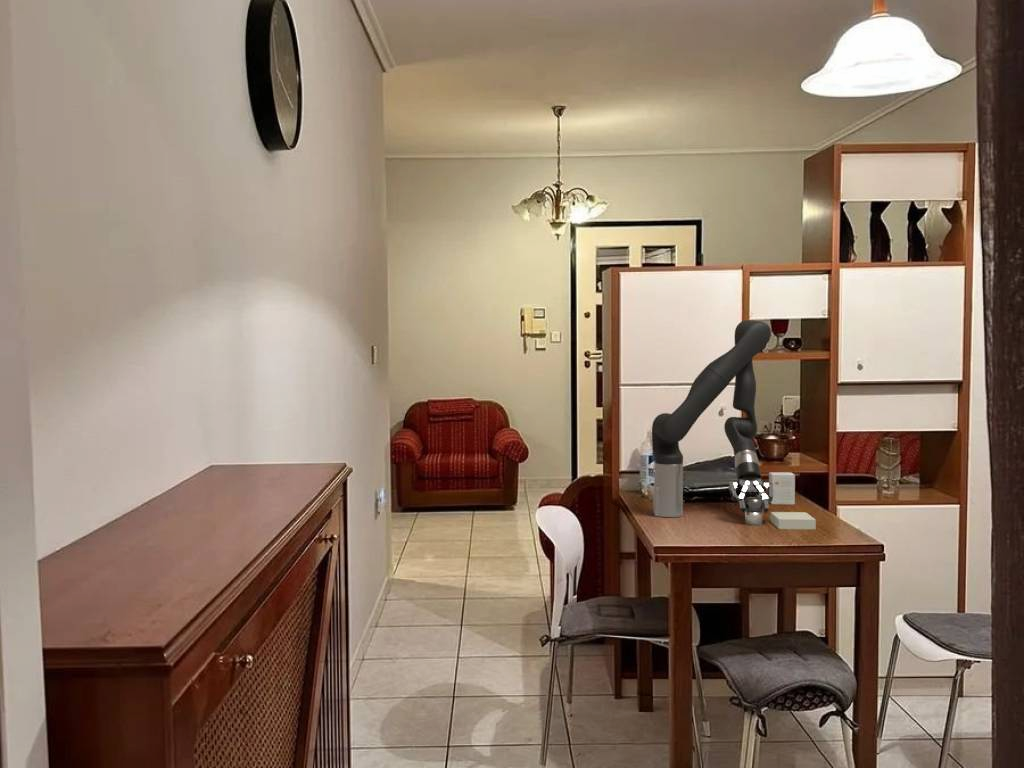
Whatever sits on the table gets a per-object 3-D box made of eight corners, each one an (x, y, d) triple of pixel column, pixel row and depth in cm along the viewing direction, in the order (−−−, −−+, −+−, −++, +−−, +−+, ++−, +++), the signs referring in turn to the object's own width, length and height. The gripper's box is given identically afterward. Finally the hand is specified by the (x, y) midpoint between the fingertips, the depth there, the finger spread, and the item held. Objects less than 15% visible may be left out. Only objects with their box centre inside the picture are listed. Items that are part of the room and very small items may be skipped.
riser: (778, 529, 276) (779, 519, 276) (770, 521, 287) (770, 512, 286) (815, 529, 275) (815, 519, 275) (805, 521, 286) (805, 512, 286)
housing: (746, 525, 281) (747, 499, 281) (743, 521, 286) (743, 496, 286) (763, 525, 281) (764, 500, 280) (760, 522, 286) (760, 496, 285)
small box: (791, 501, 319) (792, 472, 319) (795, 504, 314) (795, 474, 313) (768, 501, 320) (768, 471, 320) (771, 504, 315) (771, 474, 314)
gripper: (726, 460, 290) (733, 504, 279) (772, 460, 289) (780, 504, 278) (723, 474, 296) (729, 517, 285) (768, 474, 295) (776, 518, 284)
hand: (754, 511), depth 282 cm, fingers open, 6 cm apart
